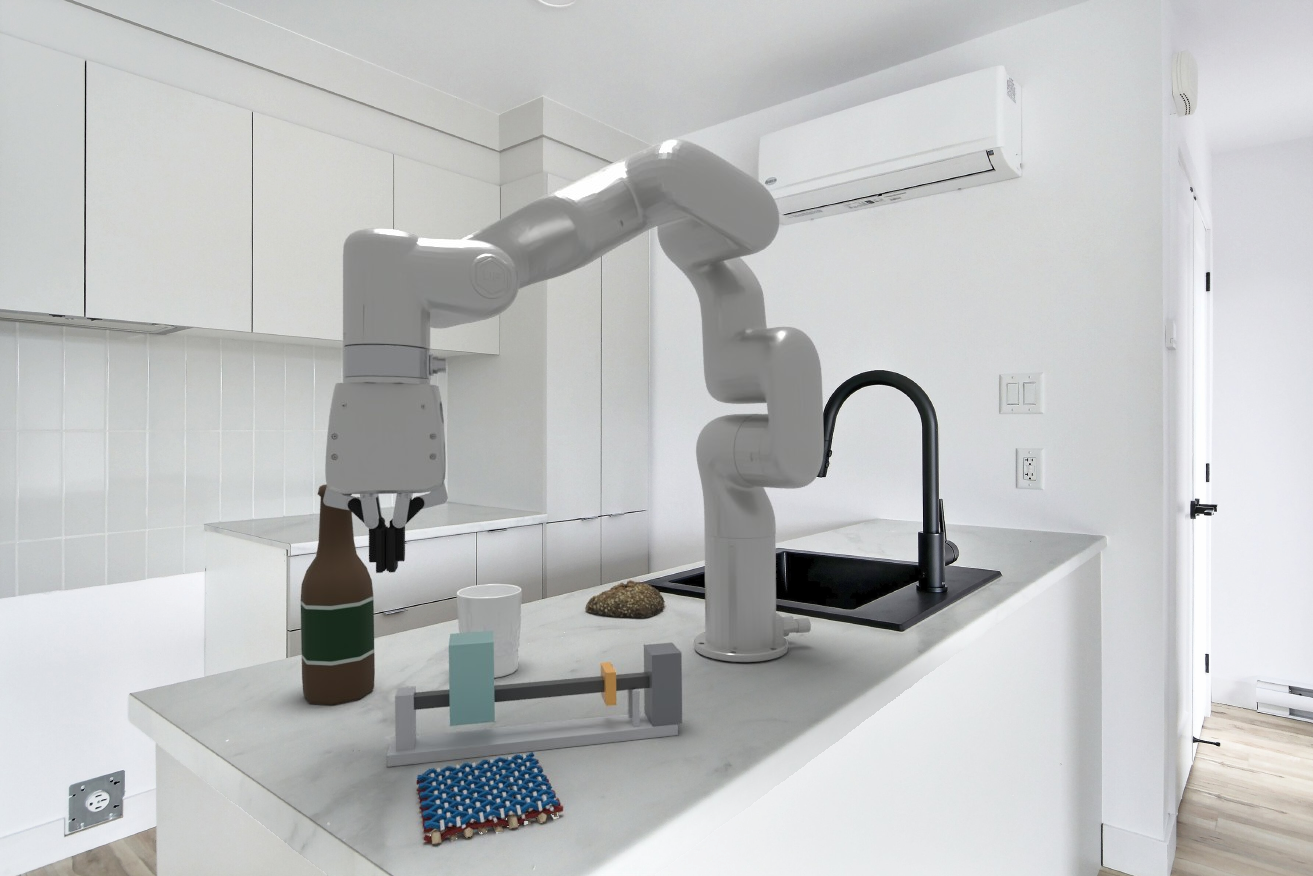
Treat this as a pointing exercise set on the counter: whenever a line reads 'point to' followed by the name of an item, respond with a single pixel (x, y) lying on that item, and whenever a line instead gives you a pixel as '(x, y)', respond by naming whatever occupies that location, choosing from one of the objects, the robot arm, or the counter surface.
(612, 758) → the counter surface
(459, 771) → the woven mat
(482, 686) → the teal sliding block
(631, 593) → the bread roll
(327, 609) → the beer bottle
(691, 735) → the counter surface
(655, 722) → the teal block rod stand
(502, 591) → the white cup
